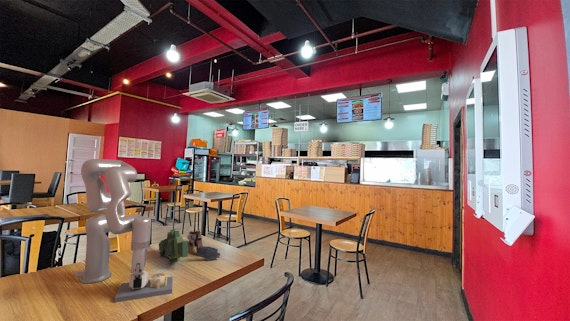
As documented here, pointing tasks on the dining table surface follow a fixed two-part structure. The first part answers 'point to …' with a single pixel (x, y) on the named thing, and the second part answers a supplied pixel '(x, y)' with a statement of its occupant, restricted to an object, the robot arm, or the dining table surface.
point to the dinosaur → (173, 246)
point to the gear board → (146, 288)
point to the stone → (208, 253)
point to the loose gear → (144, 277)
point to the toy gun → (195, 239)
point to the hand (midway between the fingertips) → (138, 283)
